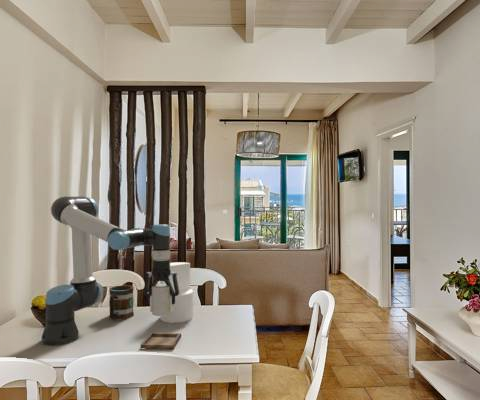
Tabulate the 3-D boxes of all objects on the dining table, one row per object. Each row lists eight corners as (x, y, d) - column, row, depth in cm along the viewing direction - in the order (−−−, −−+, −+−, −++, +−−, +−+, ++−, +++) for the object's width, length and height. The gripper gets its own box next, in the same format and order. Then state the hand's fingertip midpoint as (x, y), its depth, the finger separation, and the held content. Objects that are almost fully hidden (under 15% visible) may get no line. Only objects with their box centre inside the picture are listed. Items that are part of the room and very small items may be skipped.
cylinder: (154, 317, 196) (154, 264, 196) (181, 310, 207) (181, 261, 207) (171, 325, 183) (171, 269, 183) (199, 317, 194) (199, 265, 195)
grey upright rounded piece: (166, 316, 155) (166, 288, 155) (148, 315, 157) (148, 287, 157) (173, 310, 163) (173, 283, 163) (156, 309, 165) (156, 283, 165)
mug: (115, 311, 206) (115, 284, 206) (138, 312, 204) (138, 285, 204) (98, 323, 186) (98, 293, 186) (123, 323, 185) (123, 294, 185)
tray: (140, 348, 154) (140, 344, 154) (151, 336, 168) (151, 332, 168) (173, 349, 152) (173, 345, 153) (181, 337, 166) (181, 333, 166)
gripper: (135, 260, 157) (135, 313, 157) (182, 261, 156) (183, 314, 155) (141, 258, 165) (141, 308, 165) (186, 258, 163) (186, 309, 163)
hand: (161, 311), depth 160 cm, fingers closed on grey upright rounded piece, 8 cm apart
